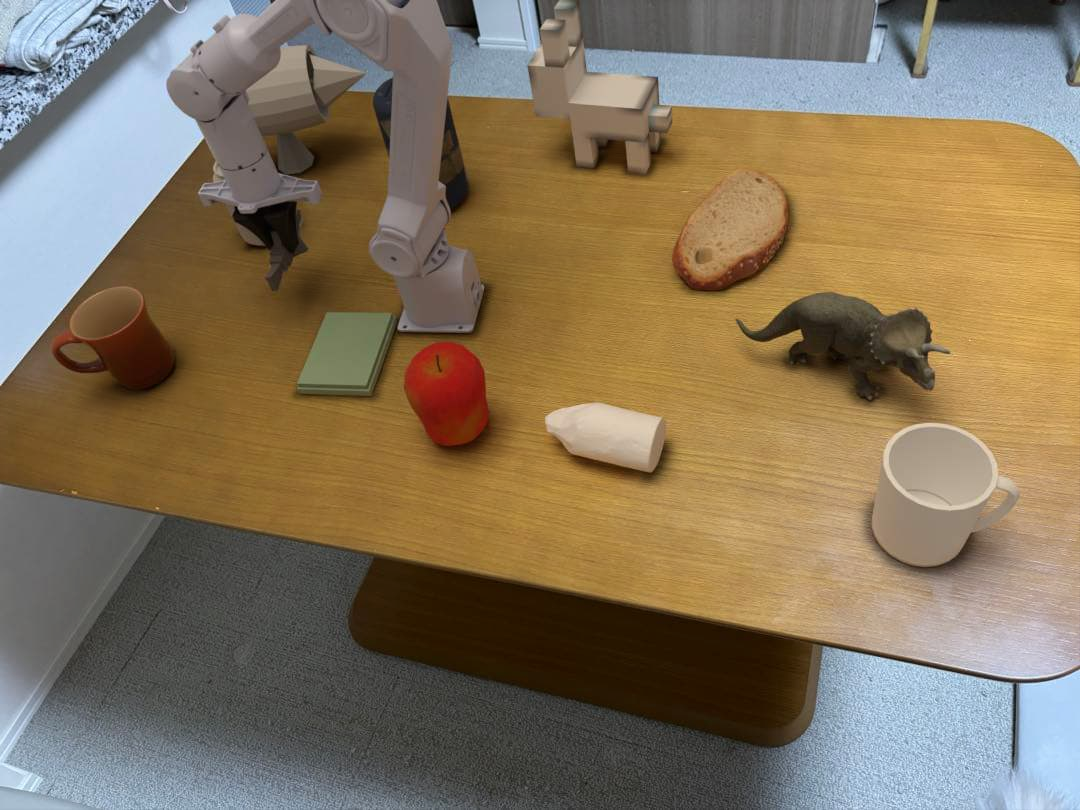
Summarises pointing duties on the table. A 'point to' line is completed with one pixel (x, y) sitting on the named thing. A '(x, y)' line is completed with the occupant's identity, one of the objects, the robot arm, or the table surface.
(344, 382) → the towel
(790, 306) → the toy dinosaur
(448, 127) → the canister
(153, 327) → the mug
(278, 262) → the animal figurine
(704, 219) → the bread slice
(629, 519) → the table surface
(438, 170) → the robot arm
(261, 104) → the jet engine
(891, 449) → the mug
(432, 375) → the apple
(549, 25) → the toy llama
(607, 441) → the white tapered cylinder
